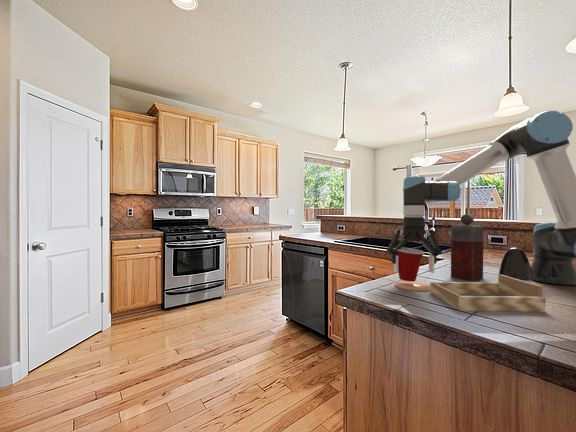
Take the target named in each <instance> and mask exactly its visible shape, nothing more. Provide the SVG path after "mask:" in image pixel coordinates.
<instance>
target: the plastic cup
mask: <svg viewBox="0 0 576 432" xmlns="http://www.w3.org/2000/svg"><path fill="white" fill-rule="evenodd" d="M397 251H398V253H397V254H396V255H398V278H399V281H401V280H403V281H411V282H413V281H417V276H418V273H419V269H420V264H421V262H422V258H423V256H424V254H426V253H425V251H423V250H420V249H417V248H410V247H404V246H403V247H402V248H401V250H399V249H397Z"/></svg>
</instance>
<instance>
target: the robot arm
mask: <svg viewBox="0 0 576 432" xmlns="http://www.w3.org/2000/svg"><path fill="white" fill-rule="evenodd" d="M573 125H574V123H573V122H572V120H571V118H570V117H569V116H568V115H566V114H565V113H563V112H560V111H557V110H547V111H543V112H540V113H537V114H535V115H532V116H531V117H529V118H527V119H525V120H523V121H521V122H519V123H517V124H515V125H513V126H511V127H510V128H509V129H507V130H506V131H505V132H504V133H502V134H501V135H499V136H498V137H497V138H495V139H494V140H492V141H491V142H489V143H488V146H487V147H485V148H484V149H482V150H481V151H479V152H477V154H474V155H473V156H471V157H470V158H467V160H465V161H464V162H462V163H460V164H458V165H457V166H455V167H454V168H452V169H450V170H449V171H447V172H446V173H444V174H442V175H441V176H438V177H437V178H436V179H434V180H433V181H426V179H425V178H426V177H425V176H423V175H412V176H411V175H410V176H406V177H405V178H404V179H403V187H402V191H403V192H402V194H403V208H402V209H403V211H402V212H403V214H402V215H403V218H402V220H403V221H402V222H403V223H402V225H403V226H402V229H398V228H397V229H396V228H395V230H394V235H393V237H392V238H391V240H390V243H389V245H388V247H387V249H386V253H387V254H389V255H391V259H390V260H391V263H392V264H393V272H394V273H396V274H397V273H398V274H399V271H398V255H396V254H397V253H398V251H397V249H399V250H401V248H402V247H404V246H405V245H406V244H407V243H408V242H420V243H422V246H423V247H424V248H425V249H426V250H427V251H428V252H429V253H430V254H428V273H429V272H430V273H431V274H434V273H435V264H437V257H438V255H440V254H441V255H442V253H443V251H442V249H441V247H440V245H439V243H438V241H437V239H436V237H435V235H434V230H433V229H432V228H431V229H429V228H427V229H425V227H426V226H425V224H426V223H425V221H426V220H425V219H426V218H425V216H426V215H425V214H426V211H425V210H426V209H425V205H426V204H432V203H438V202H439V203H440V202H448V203H449V202H455V201H458V200H459V199H460V196H461V191H462V190H461V186H462V185H464V184H465V183H467V182H469V181H470V180H472V179H473V178H475V177H477V176H478V175H480V174H481V173H484V172H485V171H487V170H489V169H490V168H492V167H493V166H495V165H497V164H499V163H500V162H503V163H504V162H506V161H508V160H510V159H511V158H514V157H516V156H519V155H522V154H524V153H525V155H526V157H527V158H528V159H530V160H533V161H534V162H535V166H536V168H537V171H538V173H539V176H540V178H541V181H542V184H543V186H544V189H545V192H546V194H547V197H548V199H549V202H550V204H551V207H552V210H553V213H554V216H555V218H556V222H542V223H537V224H535V225H534V226H533V231H532V236H533V241H532V242H533V243H532V244H533V246H532V247H533V259H532V262H531V264H530V267H531V271H532V280H531V281H536V282H541V283H546V284H547V283H548V284H554V285H563V286H564V285H565V286H568V285H569V286H575V285H576V267H575V264H574V259H575V260H576V173H575V171H574V168H573V165H572V163H571V161H570V158H569V156H568V153H567V149H568V148H569V146H570V145H571V143H570V141H569V137H570V136H571V134H572V132H573V130H574V126H573ZM402 234H403V237H402V238H401V240H400V241H399V242H398V240H399V239H400V236H401V235H402ZM425 235H426V236H427V237H428V240H429V242H430V243H429V242H428V240H427V239H426V237H425ZM397 242H398V244H397Z"/></svg>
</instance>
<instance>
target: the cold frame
mask: <svg viewBox="0 0 576 432" xmlns="http://www.w3.org/2000/svg"><path fill="white" fill-rule="evenodd" d="M497 280H498V282H492V281H491V282H481V281H480V282H478V281H473V282H472V281H467V282H466V281H465V282H464V281H461V282H460V281H459V282H458V281H455V282H454V281H430V282H429V284H430V291H429V294H431V295H432V296H434V297H436V298H438V299H439V300H441V301H443V302H444V303H446V304H448V305H449V306H452V307H453V308H455V309H456V310H458V311H461V312H468V311H469V312H475V311H476V312H538V313H539V312H541V313H542V312H543V313H545V312H546V297H545V296H543V286H542V285H539V284H535V283H532V282H531V283H529V282H526V281H522V280H519V279H515V278H512V277H508V276H505V275H499V274H498V279H497Z"/></svg>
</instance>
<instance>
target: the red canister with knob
mask: <svg viewBox="0 0 576 432" xmlns="http://www.w3.org/2000/svg"><path fill="white" fill-rule="evenodd" d="M460 222H461V223H462V224H453V225H451V228H450V278H453V279H458V280H463V281H467V282H478V281H480V280H482V279H484V226H483V225H482V224H481V225H480V224H479V225H478V224H477V225H476V224H473V223H474V216H473V215H472V214H469V213H468V214H463V215H461V217H460Z"/></svg>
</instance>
